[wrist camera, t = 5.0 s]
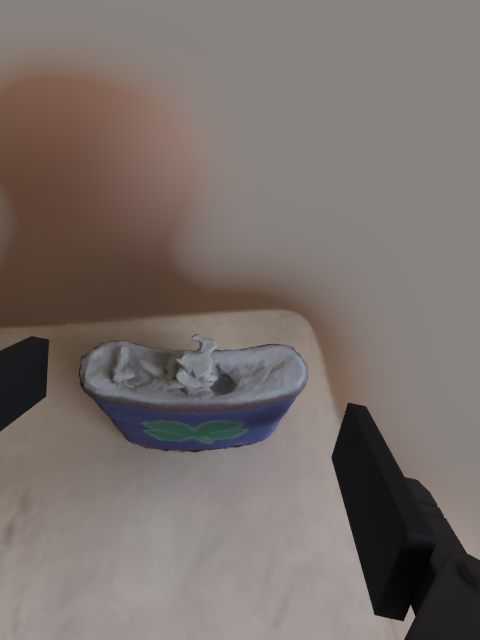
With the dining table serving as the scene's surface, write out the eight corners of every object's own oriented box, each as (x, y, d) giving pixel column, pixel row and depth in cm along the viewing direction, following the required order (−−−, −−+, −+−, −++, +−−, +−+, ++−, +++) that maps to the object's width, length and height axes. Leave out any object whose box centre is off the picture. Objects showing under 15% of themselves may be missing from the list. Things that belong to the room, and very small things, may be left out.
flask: (273, 402, 23) (318, 320, 13) (277, 451, 21) (330, 398, 12) (124, 402, 22) (61, 316, 13) (118, 453, 20) (40, 398, 11)
